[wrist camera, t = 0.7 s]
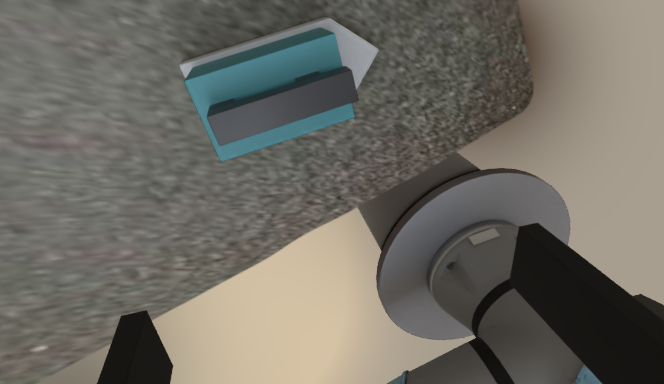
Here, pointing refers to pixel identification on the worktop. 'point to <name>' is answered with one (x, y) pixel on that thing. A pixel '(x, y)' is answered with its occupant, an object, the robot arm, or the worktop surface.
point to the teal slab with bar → (278, 85)
